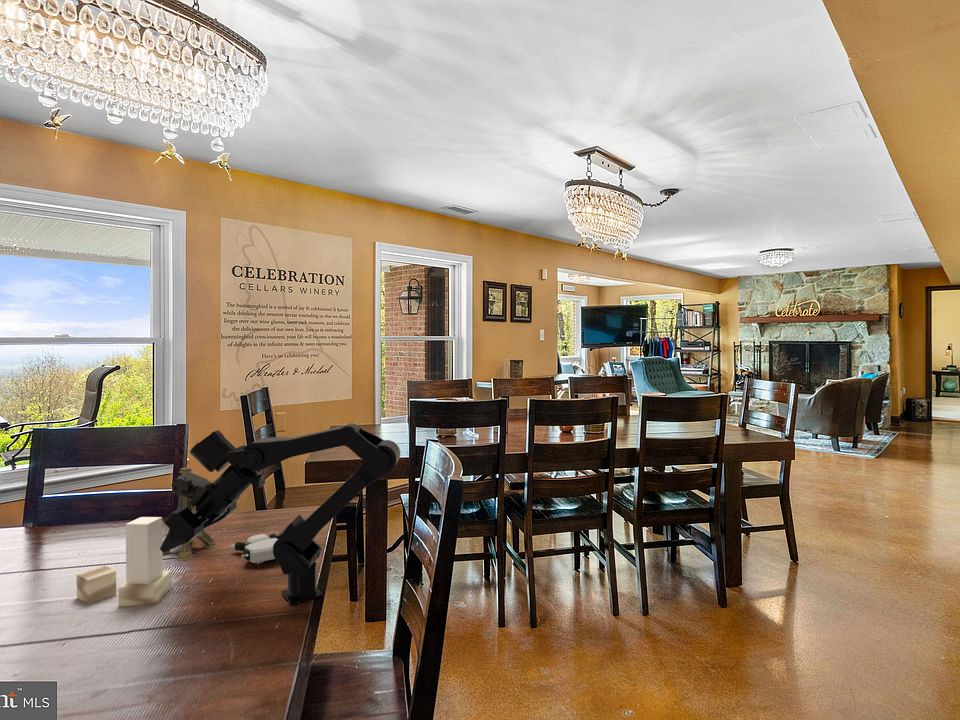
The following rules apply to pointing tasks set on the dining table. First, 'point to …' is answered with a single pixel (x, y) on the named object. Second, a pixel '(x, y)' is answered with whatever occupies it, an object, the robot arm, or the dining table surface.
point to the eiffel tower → (203, 536)
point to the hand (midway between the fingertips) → (175, 541)
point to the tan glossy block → (145, 591)
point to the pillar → (144, 550)
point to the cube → (96, 584)
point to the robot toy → (257, 548)
